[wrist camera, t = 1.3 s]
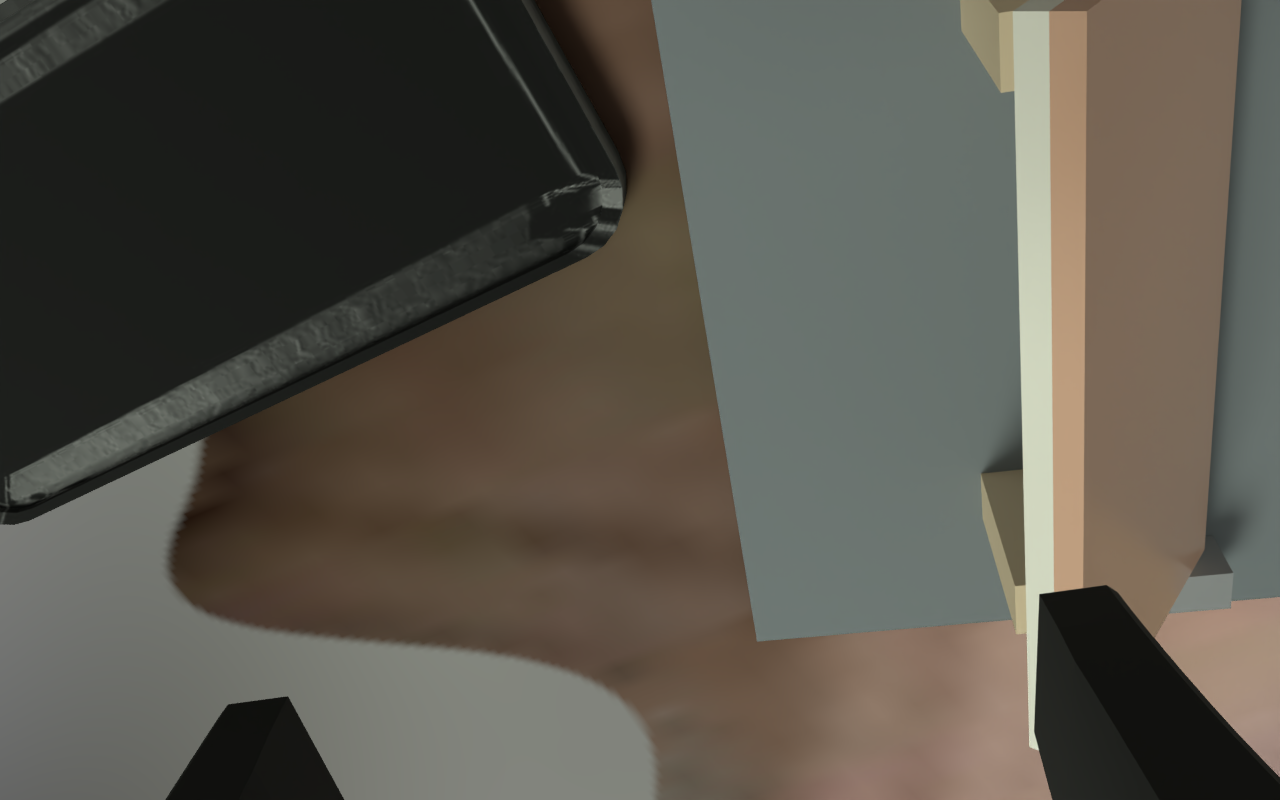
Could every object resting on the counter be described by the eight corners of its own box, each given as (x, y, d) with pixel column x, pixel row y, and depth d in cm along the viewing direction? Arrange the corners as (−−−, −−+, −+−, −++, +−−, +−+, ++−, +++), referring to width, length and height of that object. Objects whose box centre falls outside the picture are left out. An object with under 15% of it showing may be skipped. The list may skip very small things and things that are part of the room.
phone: (648, 228, 20) (-14, 541, 24) (652, 203, 21) (14, 509, 25) (380, -253, 17) (-331, 208, 21) (399, -256, 18) (-284, 186, 22)
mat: (1616, 546, 23) (1764, 692, 19) (756, 621, 25) (759, 763, 22) (1877, -406, 15) (2185, -429, 12) (626, -174, 18) (601, -140, 14)
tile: (1168, 523, 23) (1214, 535, 22) (1029, 751, 19) (1081, 771, 18) (1200, -124, 17) (1262, -128, 17) (1011, 1, 13) (1087, 0, 13)
